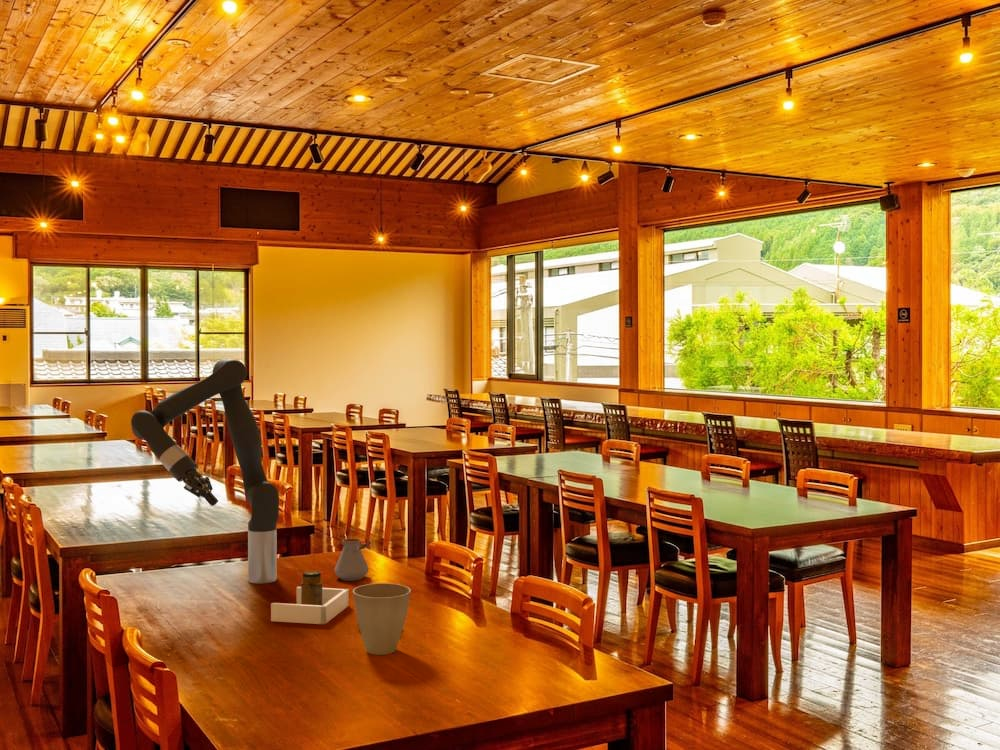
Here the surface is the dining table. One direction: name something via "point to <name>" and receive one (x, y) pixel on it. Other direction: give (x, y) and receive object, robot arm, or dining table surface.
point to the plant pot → (381, 615)
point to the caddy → (312, 608)
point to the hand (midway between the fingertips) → (215, 503)
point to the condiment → (311, 588)
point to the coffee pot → (352, 561)
